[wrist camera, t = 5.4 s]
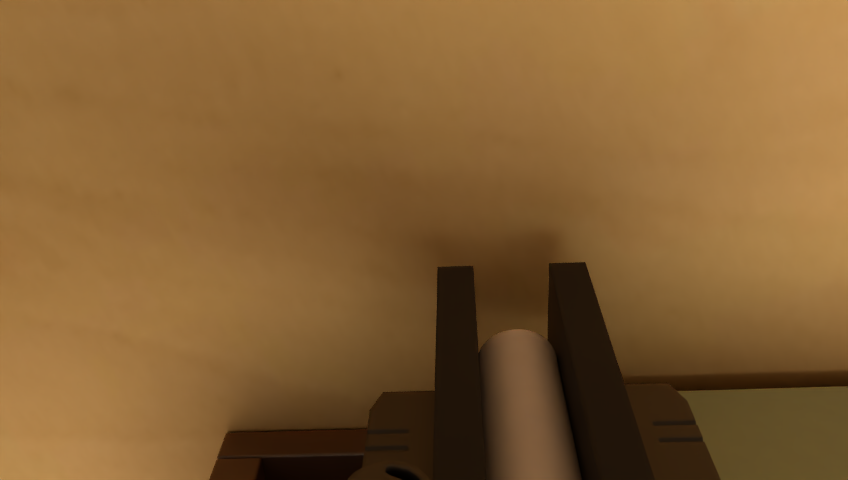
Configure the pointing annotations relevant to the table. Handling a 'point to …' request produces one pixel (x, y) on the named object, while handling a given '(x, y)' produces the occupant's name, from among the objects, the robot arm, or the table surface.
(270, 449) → the cabinet
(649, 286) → the table surface
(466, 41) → the table surface
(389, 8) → the table surface
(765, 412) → the sliding door
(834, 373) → the table surface
